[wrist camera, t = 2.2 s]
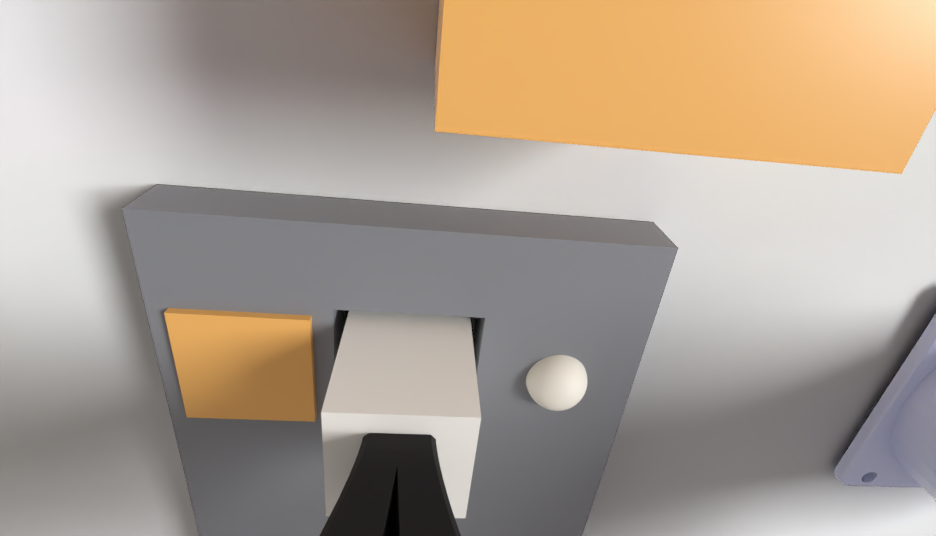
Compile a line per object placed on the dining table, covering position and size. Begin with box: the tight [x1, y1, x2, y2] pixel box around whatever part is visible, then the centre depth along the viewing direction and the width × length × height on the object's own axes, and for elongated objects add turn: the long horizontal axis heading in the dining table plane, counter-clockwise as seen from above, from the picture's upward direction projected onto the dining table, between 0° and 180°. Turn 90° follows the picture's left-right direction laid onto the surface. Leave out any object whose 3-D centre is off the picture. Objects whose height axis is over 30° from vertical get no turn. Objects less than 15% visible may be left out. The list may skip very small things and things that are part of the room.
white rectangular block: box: [321, 311, 481, 518], centre depth 12 cm, size 3×3×4 cm
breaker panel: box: [122, 184, 678, 536], centre depth 16 cm, size 12×20×2 cm, turn 174°
